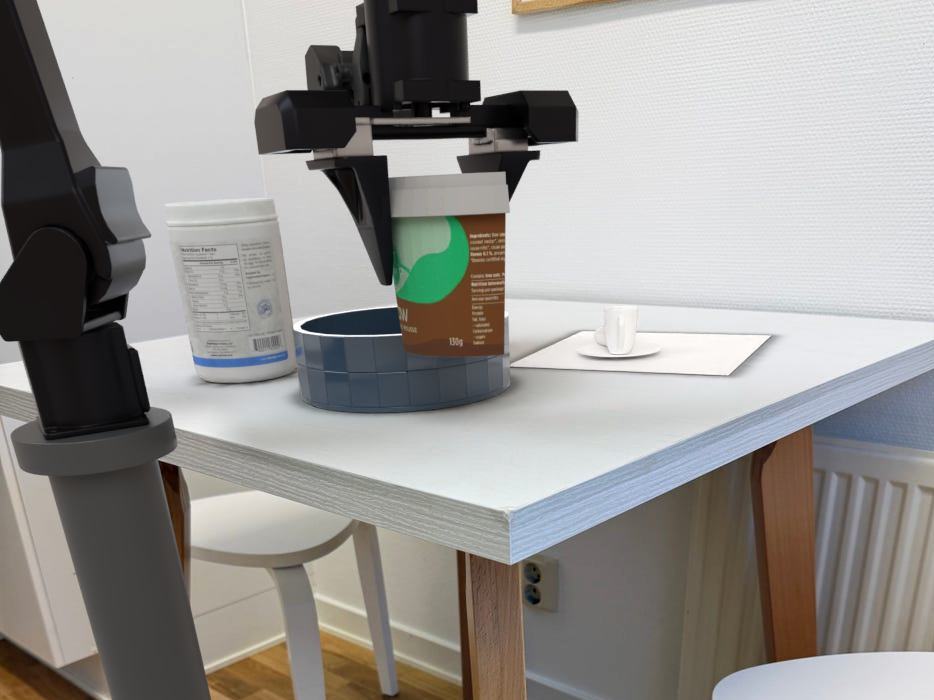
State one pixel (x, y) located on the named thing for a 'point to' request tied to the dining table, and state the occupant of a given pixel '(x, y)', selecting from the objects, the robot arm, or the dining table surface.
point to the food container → (450, 262)
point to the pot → (386, 366)
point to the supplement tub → (233, 288)
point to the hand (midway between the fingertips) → (432, 280)
